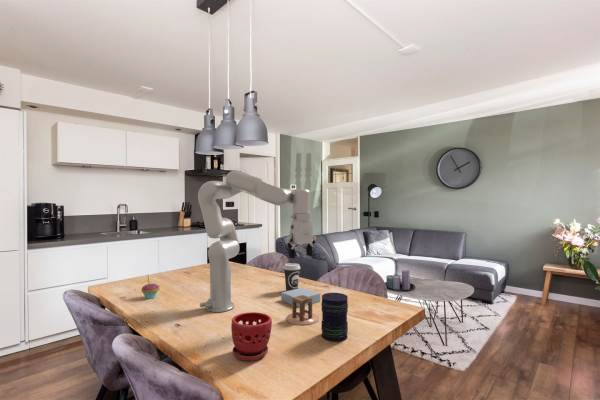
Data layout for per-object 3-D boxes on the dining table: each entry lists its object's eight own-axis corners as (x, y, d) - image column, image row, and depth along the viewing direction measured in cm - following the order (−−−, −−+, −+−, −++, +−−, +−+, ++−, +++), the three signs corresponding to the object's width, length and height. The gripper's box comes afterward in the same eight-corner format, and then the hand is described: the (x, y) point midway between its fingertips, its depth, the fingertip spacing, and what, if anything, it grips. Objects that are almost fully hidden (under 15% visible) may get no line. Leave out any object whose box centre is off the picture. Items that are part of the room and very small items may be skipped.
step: (298, 307, 150) (298, 299, 150) (281, 300, 161) (281, 292, 161) (320, 301, 159) (320, 293, 159) (302, 295, 170) (302, 287, 170)
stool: (301, 321, 131) (301, 300, 131) (292, 317, 136) (292, 297, 136) (312, 318, 135) (312, 298, 135) (303, 314, 140) (303, 294, 140)
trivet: (300, 328, 126) (300, 327, 126) (279, 317, 136) (279, 317, 136) (325, 319, 135) (325, 318, 135) (304, 310, 145) (304, 309, 145)
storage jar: (353, 336, 118) (353, 296, 118) (337, 344, 111) (338, 302, 111) (331, 328, 125) (331, 291, 125) (315, 336, 118) (316, 296, 118)
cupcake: (137, 298, 163) (137, 275, 163) (152, 294, 170) (152, 272, 170) (148, 301, 159) (148, 277, 159) (163, 296, 166) (163, 273, 166)
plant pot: (259, 367, 96) (259, 328, 96) (223, 359, 101) (223, 321, 101) (278, 348, 108) (278, 313, 108) (244, 342, 113) (245, 308, 113)
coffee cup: (301, 289, 181) (301, 263, 181) (299, 294, 171) (299, 266, 171) (284, 288, 182) (284, 262, 182) (282, 293, 172) (282, 266, 172)
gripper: (290, 218, 129) (290, 260, 129) (321, 217, 140) (321, 256, 140) (279, 217, 134) (279, 257, 134) (310, 216, 145) (310, 253, 145)
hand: (300, 256), depth 137 cm, fingers open, 9 cm apart
